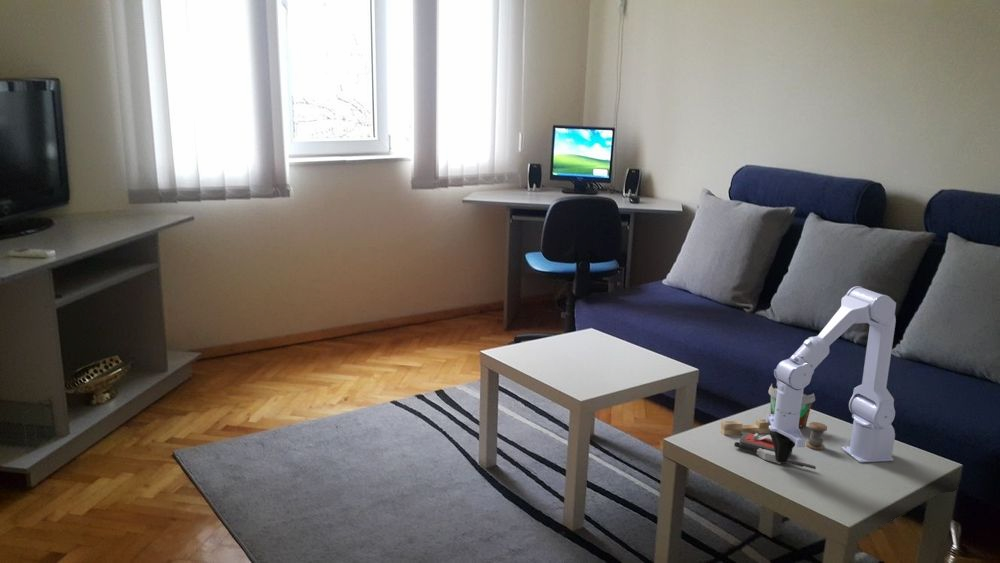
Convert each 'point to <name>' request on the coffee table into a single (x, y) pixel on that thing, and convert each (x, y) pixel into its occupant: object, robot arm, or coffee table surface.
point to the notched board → (744, 427)
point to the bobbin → (816, 436)
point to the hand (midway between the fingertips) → (781, 461)
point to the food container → (805, 405)
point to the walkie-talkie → (763, 448)
